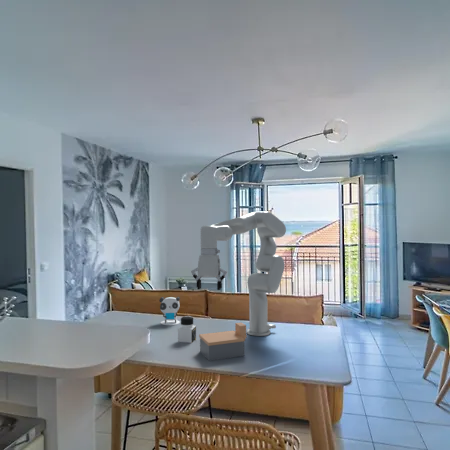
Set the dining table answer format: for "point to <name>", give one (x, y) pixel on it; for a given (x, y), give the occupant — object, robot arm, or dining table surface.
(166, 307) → the panda figurine
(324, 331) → the dining table surface
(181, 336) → the medicine bottle
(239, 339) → the lid
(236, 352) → the grey tray
